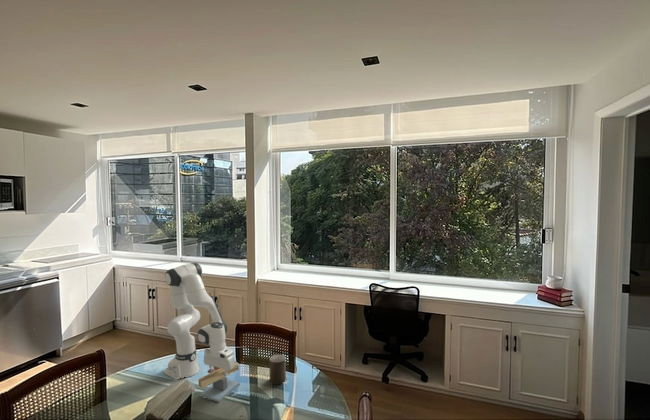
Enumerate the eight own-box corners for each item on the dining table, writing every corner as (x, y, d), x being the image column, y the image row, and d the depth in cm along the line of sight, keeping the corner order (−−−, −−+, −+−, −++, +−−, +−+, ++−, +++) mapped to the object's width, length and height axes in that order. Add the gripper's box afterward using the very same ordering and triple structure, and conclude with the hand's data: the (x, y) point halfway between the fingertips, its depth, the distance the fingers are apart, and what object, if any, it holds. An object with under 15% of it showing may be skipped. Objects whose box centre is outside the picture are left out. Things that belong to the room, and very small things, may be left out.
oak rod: (198, 386, 190) (198, 379, 189) (234, 367, 208) (234, 361, 208) (202, 388, 187) (202, 381, 187) (238, 369, 206) (238, 363, 205)
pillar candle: (278, 386, 201) (277, 362, 200) (266, 380, 207) (266, 357, 206) (289, 378, 208) (288, 355, 207) (278, 373, 214) (277, 350, 213)
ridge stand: (199, 396, 193) (199, 383, 192) (221, 379, 209) (220, 367, 209) (219, 402, 187) (218, 388, 186) (239, 384, 203) (239, 371, 203)
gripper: (200, 350, 198) (201, 372, 199) (228, 356, 189) (229, 380, 190) (208, 345, 203) (209, 367, 204) (235, 351, 195) (236, 374, 196)
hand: (219, 373), depth 197 cm, fingers open, 8 cm apart
